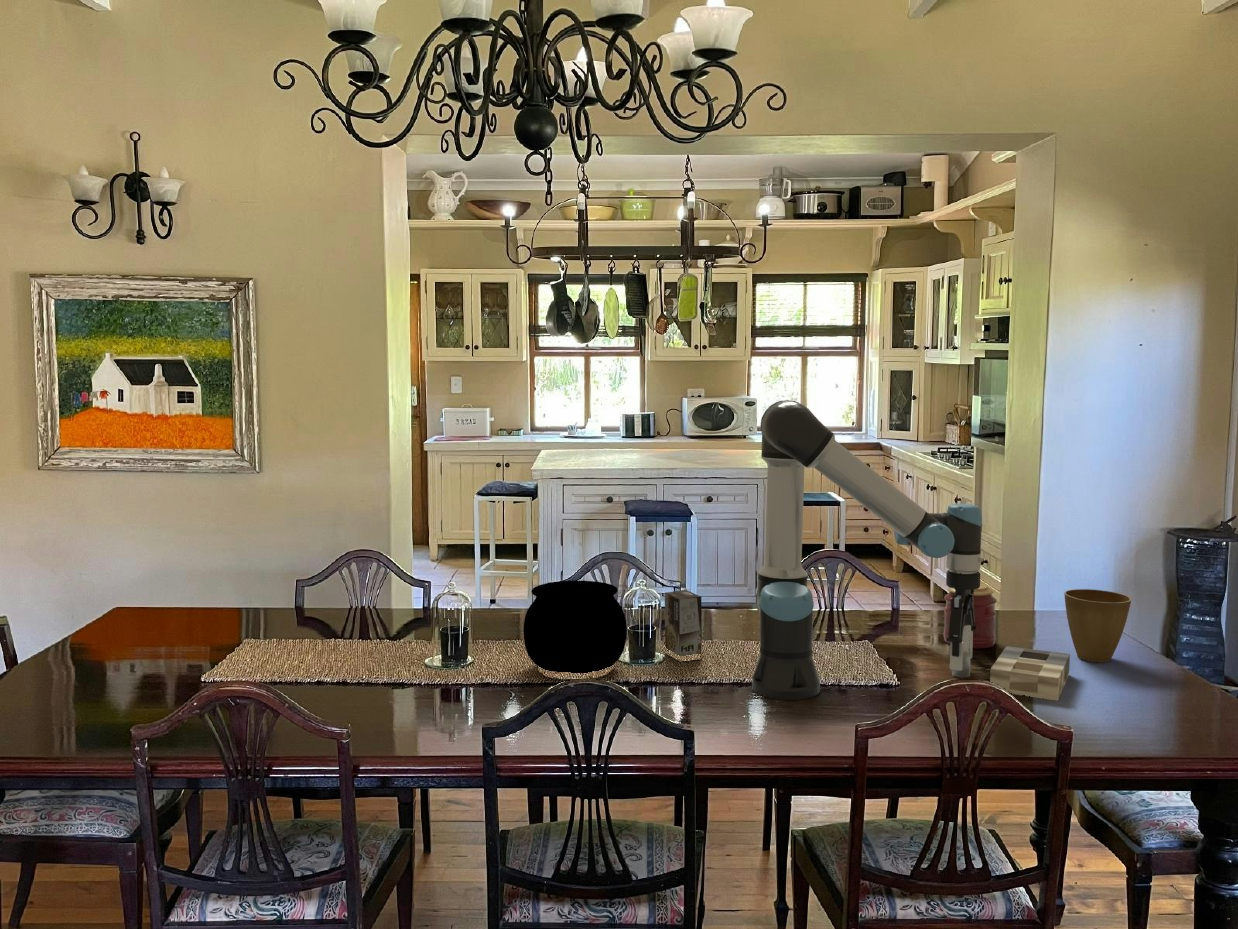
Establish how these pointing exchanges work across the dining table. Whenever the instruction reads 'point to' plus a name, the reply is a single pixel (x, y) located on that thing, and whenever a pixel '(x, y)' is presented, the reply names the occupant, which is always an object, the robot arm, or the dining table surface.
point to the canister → (977, 616)
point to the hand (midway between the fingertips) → (961, 663)
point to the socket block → (1031, 672)
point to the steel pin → (965, 653)
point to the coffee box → (683, 622)
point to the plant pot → (1096, 622)
